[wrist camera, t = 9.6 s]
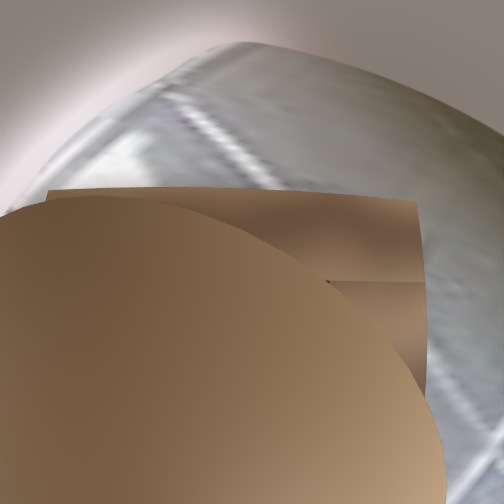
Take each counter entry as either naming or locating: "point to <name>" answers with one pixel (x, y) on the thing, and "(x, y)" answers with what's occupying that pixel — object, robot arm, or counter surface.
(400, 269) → the cutout shelf
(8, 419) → the cord reel
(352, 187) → the counter surface
